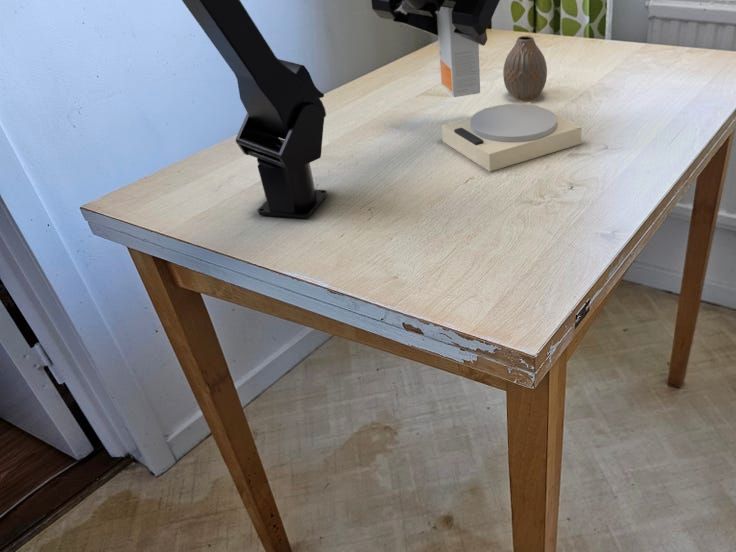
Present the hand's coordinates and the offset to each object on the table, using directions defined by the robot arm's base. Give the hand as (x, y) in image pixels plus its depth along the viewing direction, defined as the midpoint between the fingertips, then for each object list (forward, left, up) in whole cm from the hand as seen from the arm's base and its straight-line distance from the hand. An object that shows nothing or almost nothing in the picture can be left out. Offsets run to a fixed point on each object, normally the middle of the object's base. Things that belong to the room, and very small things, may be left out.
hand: (464, 38), depth 93 cm
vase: (+11, -7, -12) cm, 18 cm away
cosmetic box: (-1, +1, -7) cm, 7 cm away
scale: (-8, -8, -11) cm, 16 cm away
